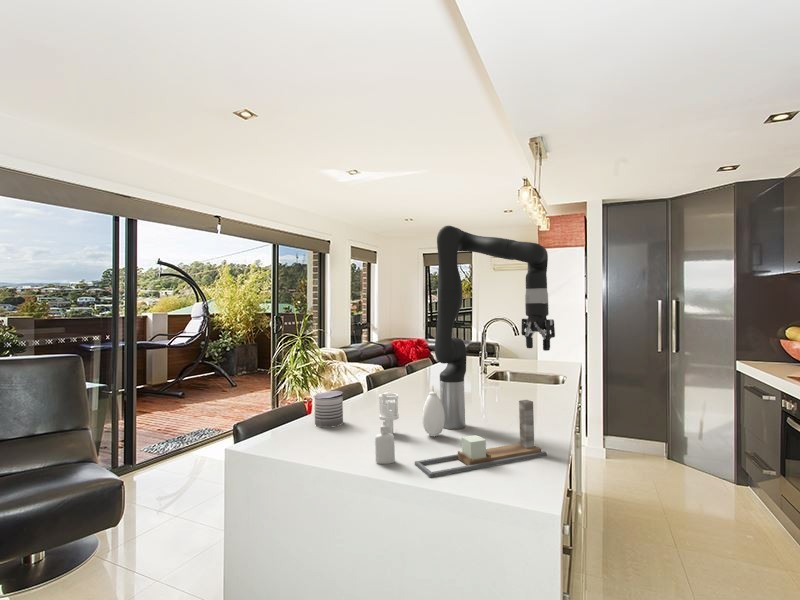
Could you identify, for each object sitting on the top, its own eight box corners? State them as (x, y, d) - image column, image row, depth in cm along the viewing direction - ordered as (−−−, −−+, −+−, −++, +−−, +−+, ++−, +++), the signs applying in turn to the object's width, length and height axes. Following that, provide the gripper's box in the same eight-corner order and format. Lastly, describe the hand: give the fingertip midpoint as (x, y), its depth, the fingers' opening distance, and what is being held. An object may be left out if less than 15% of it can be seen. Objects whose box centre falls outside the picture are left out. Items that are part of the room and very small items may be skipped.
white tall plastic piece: (375, 434, 153) (375, 392, 154) (385, 429, 160) (384, 389, 160) (393, 437, 150) (392, 394, 150) (402, 431, 156) (401, 390, 157)
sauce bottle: (444, 440, 146) (442, 387, 146) (421, 439, 147) (420, 386, 148) (446, 433, 154) (445, 382, 154) (424, 432, 155) (423, 382, 155)
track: (414, 465, 124) (414, 461, 124) (525, 445, 138) (525, 442, 138) (429, 477, 114) (429, 473, 114) (547, 455, 129) (546, 452, 129)
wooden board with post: (457, 458, 127) (456, 406, 127) (526, 446, 137) (525, 398, 137) (470, 466, 121) (468, 411, 121) (541, 453, 130) (540, 402, 130)
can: (340, 427, 164) (340, 396, 164) (311, 427, 164) (310, 396, 164) (345, 419, 175) (344, 390, 176) (317, 419, 176) (317, 390, 176)
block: (462, 454, 127) (461, 437, 127) (476, 451, 129) (476, 435, 129) (471, 459, 122) (470, 442, 122) (486, 457, 124) (485, 439, 124)
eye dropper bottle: (379, 458, 130) (378, 418, 130) (396, 460, 128) (395, 420, 128) (373, 463, 126) (372, 422, 126) (391, 465, 124) (390, 423, 124)
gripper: (514, 302, 152) (515, 348, 152) (542, 302, 139) (543, 351, 139) (531, 302, 155) (533, 347, 155) (560, 301, 142) (561, 350, 142)
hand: (537, 349), depth 147 cm, fingers open, 8 cm apart
